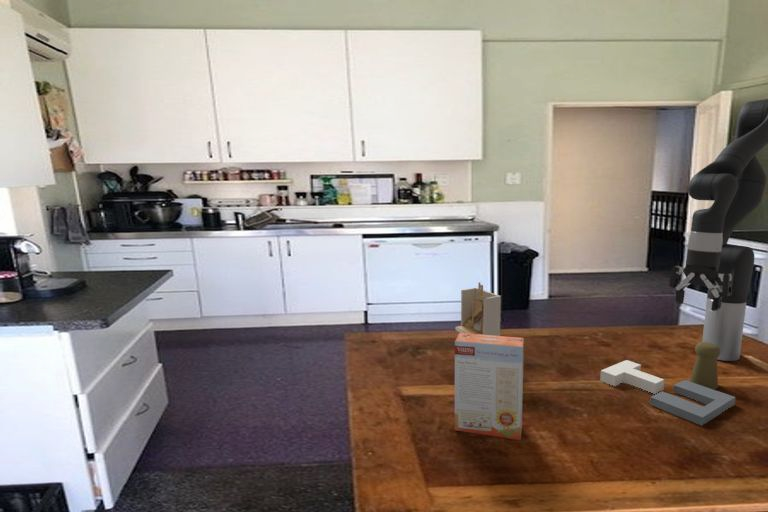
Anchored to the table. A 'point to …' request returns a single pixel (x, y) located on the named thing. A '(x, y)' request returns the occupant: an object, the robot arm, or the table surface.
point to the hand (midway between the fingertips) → (696, 306)
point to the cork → (706, 365)
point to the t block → (631, 377)
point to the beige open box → (480, 312)
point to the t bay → (690, 410)
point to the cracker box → (489, 385)
